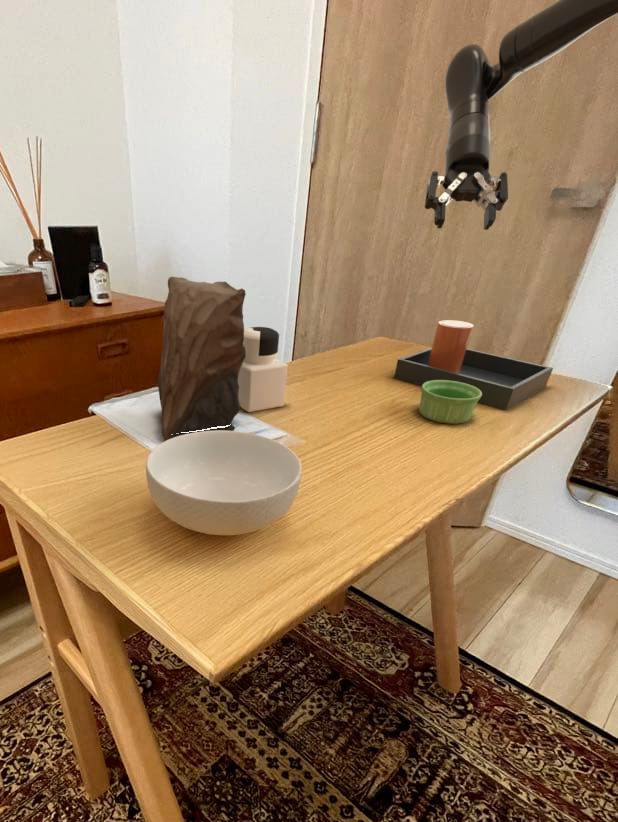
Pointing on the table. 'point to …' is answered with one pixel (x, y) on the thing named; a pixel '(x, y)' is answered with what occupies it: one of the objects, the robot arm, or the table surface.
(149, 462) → the cereal bowl
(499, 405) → the tray
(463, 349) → the cup
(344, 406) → the table surface
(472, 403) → the ramekin
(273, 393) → the medicine bottle
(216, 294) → the brown carved rock
